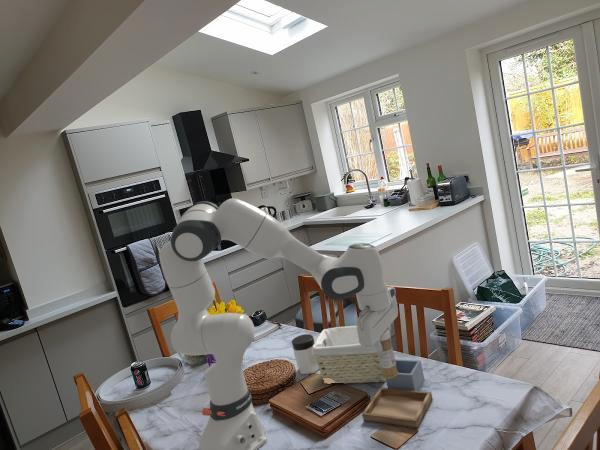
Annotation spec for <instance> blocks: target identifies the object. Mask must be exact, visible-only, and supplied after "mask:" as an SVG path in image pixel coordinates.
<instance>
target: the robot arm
mask: <svg viewBox="0 0 600 450" xmlns="http://www.w3.org/2000/svg"><path fill="white" fill-rule="evenodd" d="M223 240H224V241H230V242H232V243H234V244H236V245H237V246H240V247H241V248H243V249H244V250H246V251H248V252H249V253H251V254H253V255H255V256H258V257H260V258H264V259H267V260H270V259H277V258H282V259H285V260H288V261H289V262H291V263H293V264H295V265H296V266H299V267H300V268H301V269H303V270H306V271H307V272H308V273H309V274H311V276H312V278H313V279H314V281H315V282H316V283H317V284H318V286H319V287H320V290H322V292H323V294H324V295H325V296H326V297H327V298H329V299H331V300H335V301H342V300H344V299H347V298H350V297H352V296H355V295H356V299H357V305H358V308H359V310H361V311H360V312H359V314H358V315H359V316H358V318H357V319H356V326H357V332H358V338H359V343H360V344H361V345H362V346H373V345H374V346H375V349H376V351H377V352H381V351H382V350H383V348H384V347H383V343H380V341H379V340H380V336H381V335H382V334H383V333H384V332H385V330H386V329H388V330H389V333H390V334H391V331H392V327H391V324H392V323H393V322H394V321H395V320H396V319H397V317H398V315H399V308H398V302H397V298H396V294H397V293H396V288H395V287H393V286H388V284H387V282H386V281H385V271H384V266H383V262H382V258H381V255H380V252H379V250H378V248H377V247H376V246H374V245H373V244H370V243H366V242H365V243H362V242H360V243H359V242H358V243H353V244H350V245H349V246H348V247H347V249H346V250H345V251H344V253H342V254H341V255H340V256H338V255H335V254H328V253H323V252H319V251H317V250H315V249H314V248H313V247H311V246H308V245H307V244H305V243H303V242H302V241H301V240H299V239H298V238H296V237H295V236H294V235H293V234H292V233H291V232H290V231H289V230H288V229H287V227H285V225H284V224H282V222H280V221H278V219H276V218H275V217H273V216H272V215H271V214H270V213H268V212H266V211H264V210H263V209H261V208H259V207H257V206H255V205H253V204H251V203H248V202H246V201H244V200H242V199H240V198H234V197H233V198H231V197H230V198H229V199H226V200H225V201H223V202H222V203H221V204H220V205H219V206H217V204H216V203H214V202H212V201H211V202H210V201H205V200H203V201H197V202H196V203H194V204H192V205H190V206H189V207H188V209H187V210H186V211H185V212H184V213H183V214H182V215H181V216H180V218H179V220H178V222H177V224H176V225H175V226H174V228H173V229H172V233H171V236H170V240H169V241H168V242H166V243H165V244H164V245H163V246H162V247H161V249H160V250H159V254H158V258H159V263H160V265H161V266H160V267H161V270H162V274H163V276H164V279H165V282H166V284H167V286H168V288H169V291H170V293H171V296H172V297H173V300H174V302H175V305H176V307H177V312H178V313H177V315H178V317H177V322H176V323H175V324H174V325H173V328H171V333H170V343H171V346H172V348H173V349H174V351H175V352H176V353H178V354H181V355H184V356H193V357H194V356H202V355H203V356H205V355H213V356H214V358H215V362H214V363H213V364H212V365H211V366H210V367H209V368H208V369H207V371H206V373H205V377H204V382H205V384H206V388H207V391H208V395H209V398H210V400H209V408H207V407H203V408H202V410H201V414H202V415H203V416H207V417H209V419H208V420H207V422H206V425H205V428H204V429H203V432H202V434H201V436H200V437H199V438H200V439H199V440H198V448H199V449H198V450H258V449H259V448H260V447H262V446H263V445H265V444H266V443H267V442H268V438H267V437H266V434H265V432H266V430H265V427H264V425H263V424H262V423H261V420H260V418H259V417H258V415H257V413H256V410H255V408H254V405H253V402H252V401H253V399H252V394H251V392H250V389H249V387H248V385H247V382H246V378H245V372H244V368H243V358H244V356H245V352H246V351H247V349H249V347H250V346H251V345H252V343H253V341H254V339H255V334H256V333H255V332H256V331H255V325H254V322H253V320H252V319H251V318H250V316H248V315H247V314H245V313H238V312H236V313H235V312H227V313H218V314H209V312H208V310H207V309H208V308H209V307H210V306H211V305H212V303H213V302H214V300H215V297H216V289H215V287H214V284H213V281H212V280H211V277H210V275H209V273H208V270H207V268H206V266H205V263H204V261H203V258H205V257H207V256H208V255H209V254H211V253H212V252H213V251H214V250H216V249H217V248H218V247H220V245H221V243H222V241H223ZM390 340H392V336H391V335H390Z"/></svg>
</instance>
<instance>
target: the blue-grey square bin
mask: <svg viewBox="0 0 600 450" xmlns="http://www.w3.org/2000/svg"><path fill="white" fill-rule="evenodd" d="M395 361H396V367H397V371H398V375H397V376H396V377H394V378H389V379H388V378H386V381H385V382H386V386H387V387H386V388H391V389H402V390H414V391H420V388H421V387H422V385H423V384H424V381H425V375H424V370H423V365H422V360H416V359H414V360H413V359H399V358H398V359H396V358H395Z"/></svg>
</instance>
